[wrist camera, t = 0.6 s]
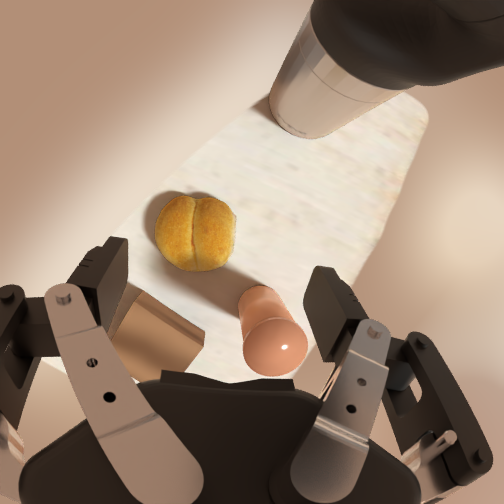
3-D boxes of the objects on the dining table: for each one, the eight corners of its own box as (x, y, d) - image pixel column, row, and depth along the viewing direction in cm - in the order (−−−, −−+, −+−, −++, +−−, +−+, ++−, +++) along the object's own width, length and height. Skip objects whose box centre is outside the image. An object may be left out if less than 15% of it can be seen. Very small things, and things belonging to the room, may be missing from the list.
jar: (255, 274, 34) (270, 307, 23) (291, 300, 35) (320, 340, 24) (227, 311, 34) (230, 357, 23) (264, 335, 35) (280, 385, 24)
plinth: (143, 290, 33) (134, 301, 29) (205, 331, 34) (203, 346, 30) (112, 342, 33) (101, 356, 30) (169, 379, 35) (164, 396, 31)
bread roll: (159, 195, 32) (151, 194, 28) (238, 199, 33) (240, 199, 29) (156, 266, 33) (148, 274, 29) (232, 271, 34) (233, 280, 30)
